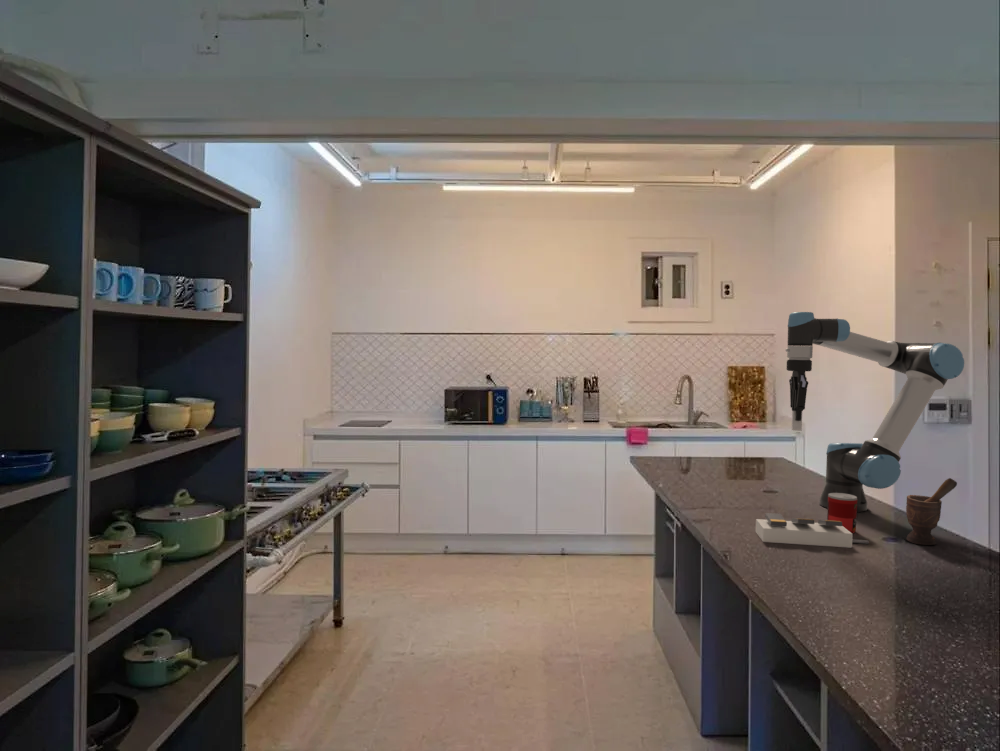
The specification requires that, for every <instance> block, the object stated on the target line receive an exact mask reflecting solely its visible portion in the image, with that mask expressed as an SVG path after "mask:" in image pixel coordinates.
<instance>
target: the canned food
mask: <svg viewBox="0 0 1000 751" xmlns="http://www.w3.org/2000/svg"><path fill="white" fill-rule="evenodd" d="M826 513H827V515H826V516H827V517H826V520H834V521H841V522H842V526H843V527H845V528H846V529H847V530H848V531H850V532H851V533H852V534H854V533H855V532H856V530H857V516H858V514H857V497H856V496H854V495H850V494H845V493H830V494H828V508H827V512H826Z"/></svg>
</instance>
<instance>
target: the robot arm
mask: <svg viewBox="0 0 1000 751" xmlns="http://www.w3.org/2000/svg"><path fill="white" fill-rule="evenodd" d="M813 345H816V346H820V347H824V348H826V349H830V350H835V351H838V352H842V353H845V354H848V355H850V356H851V355H852V356H856V357H859V358H862V359H865V360H870V361H873V362H877V364H878V365H879V366H881V367H882V368H883V367H884V368H887V369H889V370H891V371H892V370H893V371H896V372H898V373H901V374H904V375H906V377H907V380H906V381H905V383H904V385H903V386H902V388H901V389H900V392H899V393H898V395H897V396H896V398H895V400H894V402H893V403H892V405H891V407H890V408H889V410H888V411H887V413H886V415H885V417H884V418H883V419H882V422H880V424H879V427H878V428H877V430H876V432H875V433H874V435H873V436H872V438H870V439H866V440H865V441H863V443H860V442H858V443H857V442H832V443H831V442H830V443H829V444H827V448H826V466H825V468H826V469H825V484H824V486H823V489H822V491H821V494H820V496H819V502H818V503H819V505H820V506H822V507H824V508H825V509H826V508H827V509H828V494H830V493H845V494H850V495H854V496H856V497H857V512H858V513H860V512H866V511H867V510H868V501H867V497H866V494H865V491H864V486H865V487H868V488H872V489H876V490H877V489H878V490H883V489H887V488H889V487H891V486H893V485H895V483H896V482H897V481H898V480H899V478H900V476H901V471H902V470H901V464H900V460H901V458H902V457H901V454H900V450H901V449H902V447H903V445H904V443H906V440H907V439H908V436H910V433H911V432H912V430H913V429H914V427H915V425H916V423H917V422H918V420H919V419H920V417H921V415H922V413H923V412H924V410H925V409H926V406H927V405H928V403H929V401H930V400H931V398H932V397H933V395H934V394H935V391H937V390H942V389H943V388H944V386H946V383H947V382H948V380H952V379H955V378H957V377H958V378H959V376H960V375H962V373H963V370H964V368H965V358H964V356H963V355H964V354H963V353H962V351H961V350H960V349H959V348H958V347H957V346H956V345H954V344H951V343H945V342H936V343H935V342H933V343H931V342H922V343H921V342H898V341H895V340H887V341H884V340H882V339H881V340H880V339H878V338H877V339H876V338H874V337H871V336H867V335H864V334H859V333H857V332H853V331H851V326H850V323H849V322H848V321H847V319H844V318H843V319H841V318H815V314H814V312H811V311H795V312H794V311H793V312H791V313H790V314H789V315H788V321H787V347H786V349H785V352H787V353H786V354H787V355H786V357H787V358H788V359H787V360H786V371H788V372H789V371H790V372H792V373H791V376H790V379H789V380H788V381H789V400H790V401H789V402H790V406H789V407H790V408H791V411H792V412H791V413H792V414H791V431H794V432H795V431H797V432H798V431H799V432H802V430H803V411H804V410H806V401H807V391H808V387H809V386H808V385H809V381H808V379H807V376H806V372H811V371H812V370H813V369H812V367H813V361H812V360H811V359H813V348H814V346H813Z"/></svg>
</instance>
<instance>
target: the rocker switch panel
mask: <svg viewBox="0 0 1000 751" xmlns="http://www.w3.org/2000/svg"><path fill="white" fill-rule="evenodd" d="M785 521H786V522H787V526H771V525H770V524H769V522H768V520H767V519H764V518H763V519H759V518H756V519H755V533H756V535H757V536H758V537H759V539H760V540H761V541H762V543H776V544H792V545H805V546H807V545H808V546H821V547H822V546H823V547H836V548H837V547H838V548H847V549H848V548H851V549H852V548H853V544H861V545H862V544H863V545H864V544H865V545H869V544H870V542H869V540H868V539H854V538H853V534H854V533H851V532H850V531H848V530H847V529H846V528H845V527H843V526H830V525H822V524H818V522H814V524H803V523H793V522H792V521H791V520H785Z"/></svg>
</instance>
